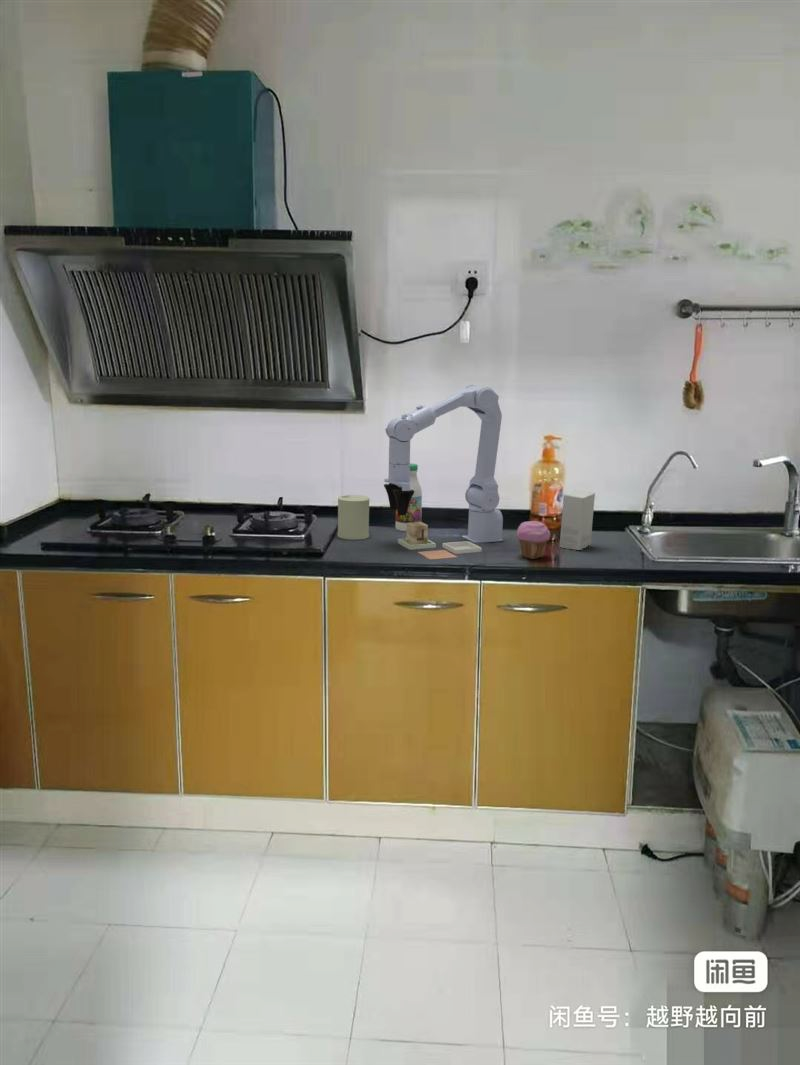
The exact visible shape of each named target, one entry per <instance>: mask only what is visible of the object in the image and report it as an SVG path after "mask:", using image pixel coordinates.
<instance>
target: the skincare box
mask: <svg viewBox="0 0 800 1065" xmlns="http://www.w3.org/2000/svg"><path fill="white" fill-rule="evenodd" d="M595 496H596V493H595V492H591V491H583V490H578V489H577V490H576V489H575V490H573V491H570V492H568V493H564V494H563V497H562V498H563V499H562V500H563V501H562V509H561V510H562V513H561V514H562V515H561V524H560V535H559V536H560V538H559V548H560V547H564V548H571V549H577V550H581V549H583V548H585V547H587V546H588V545H590V544H591V545H592V532H593V531H592V530H593V521H594V520H593V519H594V510H595V509H594V508H595V507H594V506H595V498H596V497H595ZM587 548H588V547H587ZM585 549H586V548H585ZM583 550H584V549H583ZM581 551H582V550H581Z"/></svg>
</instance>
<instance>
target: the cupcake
mask: <svg viewBox="0 0 800 1065" xmlns="http://www.w3.org/2000/svg"><path fill="white" fill-rule="evenodd" d="M515 536H516V538H517V539H518V542H519V546H520V551H521V555H522V557H524V558H528V559H530V560H535V559H539V557H541V558H543V557H544V556H545V551H546V546H547V543H548V541H549V540H550V538H551V531H550V529H549V528H548V527H547V525H546V524H545V523H543V522H541V521H536V520H529V521H523V522H521V523H520V524H519V525H518V527H517V530H516V535H515Z"/></svg>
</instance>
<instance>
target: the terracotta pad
mask: <svg viewBox="0 0 800 1065" xmlns="http://www.w3.org/2000/svg"><path fill="white" fill-rule="evenodd" d="M417 553H418V554H420V555H422V556H423V557H425V558H427V559H428V560H430V561H431V560H444V559H445V560H446V559H454V558H458V556H457V555H456V554H454V553H452V552H450V551H449V550H447V549H438V550H436V549H435V550H426V551H417Z"/></svg>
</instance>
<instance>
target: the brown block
mask: <svg viewBox="0 0 800 1065" xmlns="http://www.w3.org/2000/svg"><path fill="white" fill-rule="evenodd" d="M428 527H429V525H428V524H426V523H424V522H422V521H421V522H414V523H407V531H406V538H407V539H406V538H405V539H406V542H407V543H408V544H410V545H416V544H427V539H428V534H429V533H428V531H429V530H428V529H429V528H428Z"/></svg>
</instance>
